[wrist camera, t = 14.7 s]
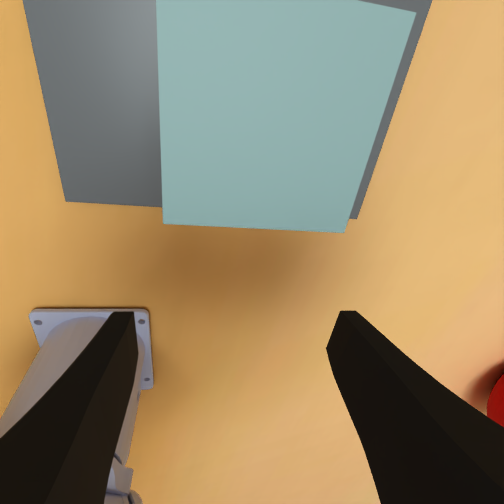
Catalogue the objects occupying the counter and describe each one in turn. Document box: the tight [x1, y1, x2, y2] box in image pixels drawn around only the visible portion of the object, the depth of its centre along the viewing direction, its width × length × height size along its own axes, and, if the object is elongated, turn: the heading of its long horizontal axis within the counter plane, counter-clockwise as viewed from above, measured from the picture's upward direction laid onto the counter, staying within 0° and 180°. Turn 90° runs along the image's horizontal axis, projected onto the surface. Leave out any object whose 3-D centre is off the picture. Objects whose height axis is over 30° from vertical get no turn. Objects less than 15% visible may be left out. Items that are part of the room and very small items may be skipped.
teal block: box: [156, 0, 416, 233], centre depth 9 cm, size 5×5×5 cm
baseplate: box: [23, 0, 432, 219], centre depth 15 cm, size 13×18×1 cm
